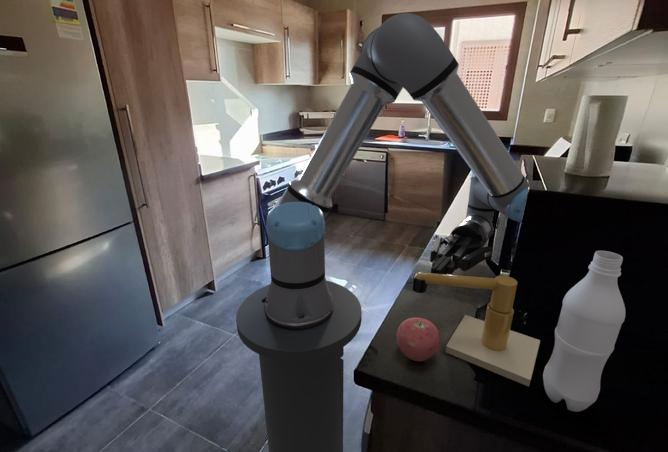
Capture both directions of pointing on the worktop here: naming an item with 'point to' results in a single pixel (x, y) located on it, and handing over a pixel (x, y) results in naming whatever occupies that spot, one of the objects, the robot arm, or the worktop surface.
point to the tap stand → (495, 346)
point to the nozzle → (499, 285)
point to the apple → (418, 339)
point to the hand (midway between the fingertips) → (435, 275)
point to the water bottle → (586, 334)
